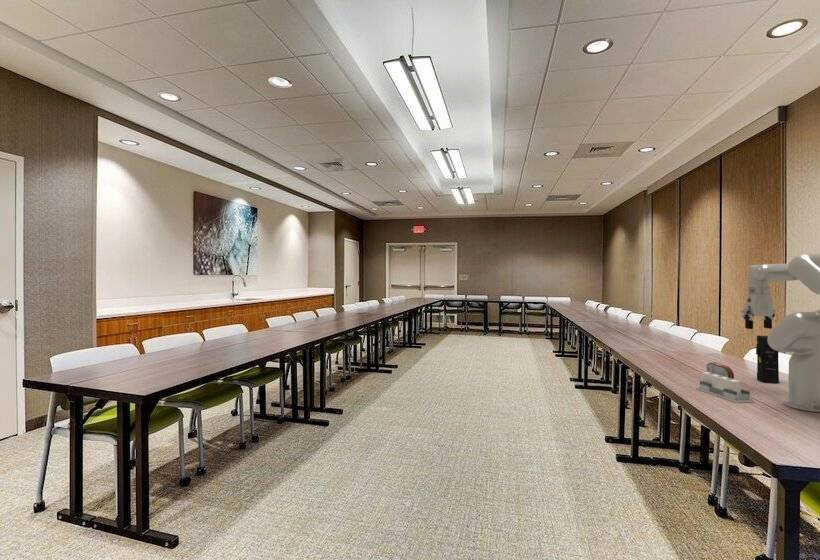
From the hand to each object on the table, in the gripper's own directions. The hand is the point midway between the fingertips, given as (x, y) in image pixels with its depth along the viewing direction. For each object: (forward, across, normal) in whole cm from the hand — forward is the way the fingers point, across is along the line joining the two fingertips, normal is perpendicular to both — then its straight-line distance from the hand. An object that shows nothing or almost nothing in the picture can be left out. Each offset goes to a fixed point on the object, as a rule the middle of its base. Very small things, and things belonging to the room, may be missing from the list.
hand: (758, 328), depth 181 cm
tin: (+29, -4, +16) cm, 33 cm away
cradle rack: (+28, -24, -6) cm, 38 cm away
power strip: (+25, -24, -5) cm, 35 cm away
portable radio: (+28, +17, +11) cm, 35 cm away
